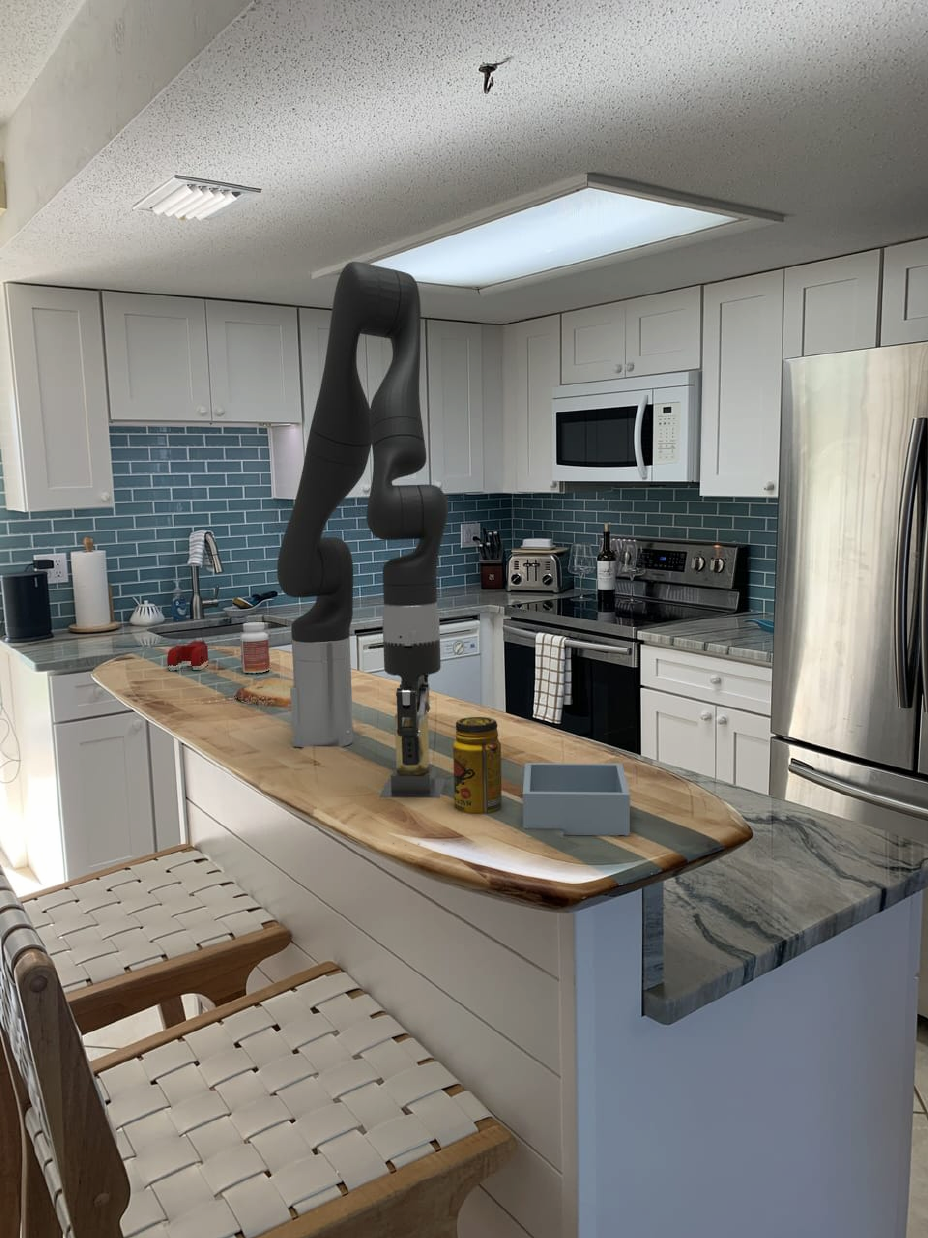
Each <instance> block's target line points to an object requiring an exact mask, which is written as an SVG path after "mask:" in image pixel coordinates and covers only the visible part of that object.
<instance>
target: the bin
mask: <svg viewBox="0 0 928 1238" xmlns="http://www.w3.org/2000/svg"><path fill="white" fill-rule="evenodd" d="M522 785H523V786H522V829H550V830H551V829H560V830H561V829H562V830H563V836H564V835H565V836H568V835H569V836H618V835H625V837H626V836H628V837H629V836H630V833H631V831H630V830H631V825H630V823H631V794H630V789H629V786H628V780H627V778H626V774H625V770H624V765H623V764H622V763H580V762H579V763H578V762H577V763H573V762H572V763H569V762H566V763H563V762H561V763H560V762H559V763H558V762H555V763H554V762H525V763H524V773H523V784H522Z"/></svg>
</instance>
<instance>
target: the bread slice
mask: <svg viewBox="0 0 928 1238" xmlns="http://www.w3.org/2000/svg"><path fill="white" fill-rule="evenodd" d="M293 686H294V682H293V680H291V679H284V678H279V677H273V676H269V677H268V678H264V679H261V680H258V681H256V682H254V683H253V684H251V685H248V686H247V687H241V688H239V689H238V690H237V692H236V693H235V696H236V697H237V698H238V699H237V700H238V701H240V702H241V701H244V702H247V703H251V704H250V705H252V704H258V705H264V706H263V707H268V706H277V707H276V708H291V699H290V689H291V687H293ZM235 696H234V697H235ZM258 705H257V706H258Z"/></svg>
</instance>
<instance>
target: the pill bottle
mask: <svg viewBox="0 0 928 1238" xmlns="http://www.w3.org/2000/svg"><path fill="white" fill-rule="evenodd" d="M242 629H243V633H242V634H241V635H240V639H239V642H240V659H241V671H244V672H251V673H256V672H265V671H268V670H270V671H271V663H270V660H271V659H270V645H269V643H270V642H269V635H268V634H267V632H265V631H264V630H265V622H264V621H263V622H262V621H252V622H251V621H250V622H245V623H243V624H242Z"/></svg>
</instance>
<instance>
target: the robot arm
mask: <svg viewBox="0 0 928 1238" xmlns="http://www.w3.org/2000/svg"><path fill="white" fill-rule="evenodd" d="M336 283H337V284H336V286H335V287H336V288H335V292H334V296H333V302H332V308H331V316H330V324H329V332H328V339H327V346H326V354H325V361H324V365H323V366H324V367H323V372H322V376H321V382H320V386H319V391H318V395H317V399H316V400H317V401H316V405H315V409H314V412H313V415H312V416H313V417H312V421H311V425H310V430H309V433H308V434H309V435H308V439H307V443H306V447H305V448H306V449H305V453H304V459H303V466H302V471H301V475H300V479H299V484H298V489H297V493H296V497H295V500H294V504H293V507H292V510H291V514H290V517H289V519H288V521H287V522H288V523H287V527H286V529H285V532H284V535H283V539H282V541H281V545H280V549H279V553H278V554H279V555H278V558H277V568H276V570H277V571H276V573H277V574H276V575H277V581H278V585H279V588H280V590H281V591H282V592H283V594H285V595H286V596H288V597H291V598H297V599H298V598H300V599H301V598H311V597H312V598H313V597H316V598H315V599H316V600H315V603H314V604H313V606H312V607H311V608H310V609H309V610H308V611H306V613H303V614H302V615H301V616H299V617H297V618H296V619H295V620H293V622H292V623H291V627H290V630H291V631H290V632H291V633H290V634H291V636H290V637H291V653H292V654H291V655H292V677H293V680H292V681H293V682H294V686H293V687H291V689H290V699H291V707H290V716H291V717H290V719H291V722H290V723H291V736H292V737H291V739H292V740H291V744H292V747H299V748H303V749H304V748H305V747H308V748H309V747H311V748H312V747H313V748H314V747H321V748H322V747H323V748H326V747H328V748H329V747H330V748H332V747H335V748H338V747H340V748H341V747H346V746H348V745H350V744H352V743H353V742H354V726H353V725H354V723H353V696H352V695H353V694H352V693H353V691H352V672H351V671H352V667H351V666H352V665H351V641H350V638H351V637H350V636H351V634H350V628H351V624H352V620H353V616H354V615H353V614H354V613H353V612H354V609H353V607H354V606H353V605H354V601H353V600H354V562H353V557H352V554H351V550H350V548H349V545H348V544H347V543H346V542H345V541H344V540H343V539H342V538H341V537H336V536H323V537H322V535H323V532H324V530H325V526H326V525H327V523H328V520H329V519H330V517H331V516H332V515H333V513H334V512H335V510H336V509H337V508H338V506H340V504H341V503H342V502H343V500H345V499H346V497H348V495H349V494H350V492H352V490H353V489H354V488H355V486H356V485H357V484H358V482H360V480H361V478H362V477H363V475H364V473H365V470H366V468H367V464H368V461H369V457H370V453H371V447H372V456H373V457H372V458H373V459H372V461H373V464H372V465H373V467H372V469H373V471H372V480H371V487H370V491H369V496H368V500H367V501H368V502H367V506H366V507H367V508H366V515H365V516H366V523H367V526H368V528H369V530H370V532H371V533H372V534H373V535H374V537H376V538H378V539H379V540H382V541H383V540H384V541H393V540H394V541H395V540H397V541H398V540H418V543H417V546H416V547H415V549H413V551H412V552H410V553H408V554H406V555H403V556H398V557H396V558H392V559H389V560H387V561H386V562H385V563H384V564H383V567H382V589H383V590H382V591H383V592H382V594H383V610H382V611H383V613H382V614H383V615H382V639H383V640H382V641H383V643H382V645H383V647H382V648H383V666H384V668H383V669H384V672H385V673H386V674H388V675H390V676H399V677H400V679H401V680H400V681H401V682H400V684H399V687H397V688H396V693H395V696H396V714H397V725H398V729H397V733H398V736H400V737H402V762H403V764H404V765H418V764H419V762H420V748H419V734H420V722H422V721H423V720H424V713H427V714H428V718H429V712H430V709H431V706H430V704H431V701H430V689H431V688H430V684H429V676H430V675H433V674H436V673H438V672H439V671H440V670H441V666H442V665H441V664H442V663H441V637H440V636H441V634H440V632H441V629H440V616H439V610H438V602H437V601H438V599H437V598H438V594H437V592H438V589H437V568H438V559H439V556H440V555H439V554H440V549H441V544H442V540H443V536H444V533H445V529H446V525H447V522H448V521H447V520H448V515H449V504H448V500H447V498H446V495H445V494H444V492H443V491H442V489H441V488H440V487H438V486H436V485H434V484H403V485H401V484H400V485H397V484H396V485H394V484H393V481H395V480H398V479H400V478H403V477H407V476H410V475H414V474H416V473H418V472H419V471H421V470H422V469H423V468H424V467H425V465H426V463H427V450H426V442H425V434H424V427H423V426H424V425H423V419H422V412H421V402H420V400H421V399H420V397H421V396H420V371H421V328H422V327H421V324H422V323H421V320H422V319H421V318H422V317H421V316H422V314H421V311H422V310H421V297H420V296H421V295H420V290H419V286H418V284H417V281H416V279H415V278H414V277H413V276H412V275H411V274H410V273H408V272H405V271H401V270H398V269H394V268H389V267H383V266H380V265H376V264H375V265H374V264H371V263H367V262H360V261H350V262H348V263H347V264H346V265H345V266H344V267H343V269H342V271H341V272H340V274H339V277H338V280H337V282H336ZM360 335H366V336H372V337H377V338H384V339H389V340H390V343H391V349H392V358H391V362H390V365H389V367H388V369H387V372H386V374H385V376H384V378H383V379H382V381H381V383H380V384H379V386H378V388H377V389H376V392H375V394H374V395H373V398H372V400H371V404H370V403H369V402H368V399H367V396H366V393H365V391H364V388H363V386H362V383H361V380H360V379H361V378H360V375H359V372H358V371H359V370H358V365H357V351H358V345H359V338H360ZM406 722H413V726H408V727H405V723H406Z"/></svg>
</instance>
